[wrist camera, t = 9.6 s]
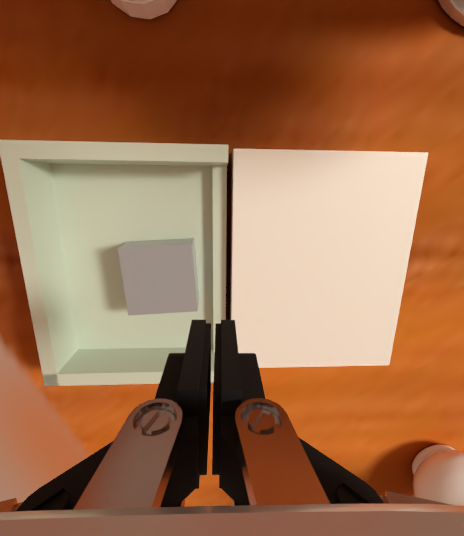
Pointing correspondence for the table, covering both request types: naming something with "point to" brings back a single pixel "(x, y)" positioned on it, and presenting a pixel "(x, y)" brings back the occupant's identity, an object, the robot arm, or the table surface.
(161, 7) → the white cup
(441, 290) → the table surface
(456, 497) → the flower vase
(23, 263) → the box
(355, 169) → the plate
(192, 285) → the grey square block
